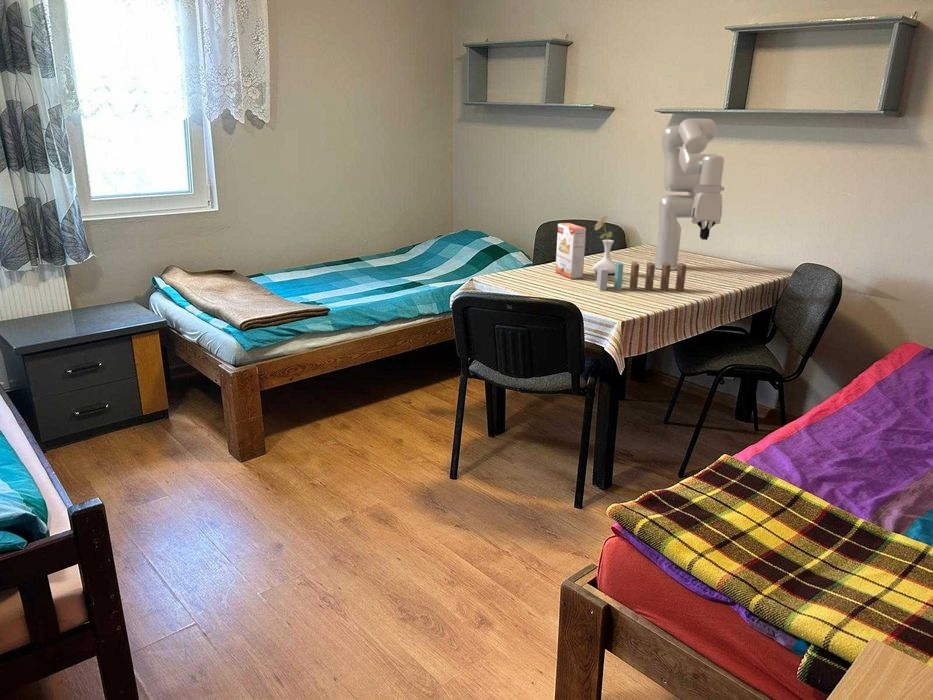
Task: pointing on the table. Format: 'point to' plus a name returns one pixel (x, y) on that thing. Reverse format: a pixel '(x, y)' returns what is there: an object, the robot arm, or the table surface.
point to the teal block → (618, 275)
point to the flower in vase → (607, 244)
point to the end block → (602, 277)
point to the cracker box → (570, 250)
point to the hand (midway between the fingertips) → (703, 239)
